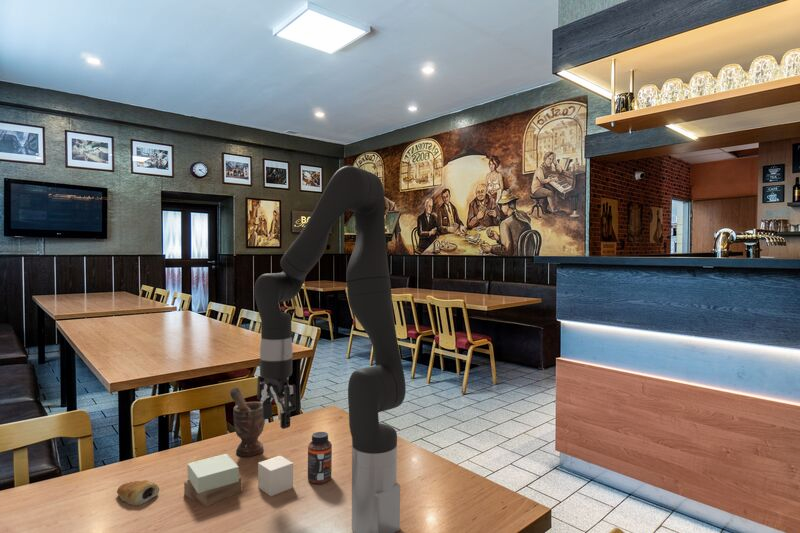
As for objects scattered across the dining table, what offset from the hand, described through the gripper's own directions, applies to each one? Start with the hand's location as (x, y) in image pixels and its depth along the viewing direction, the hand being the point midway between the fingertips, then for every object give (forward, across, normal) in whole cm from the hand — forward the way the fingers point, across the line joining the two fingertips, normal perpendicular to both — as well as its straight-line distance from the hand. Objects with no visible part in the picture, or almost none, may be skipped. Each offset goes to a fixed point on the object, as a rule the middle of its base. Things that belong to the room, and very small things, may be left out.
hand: (275, 422), depth 113 cm
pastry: (+16, +18, +26) cm, 35 cm away
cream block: (+16, 0, 0) cm, 16 cm away
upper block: (+13, +8, +12) cm, 19 cm away
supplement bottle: (+16, -4, -10) cm, 19 cm away
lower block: (+16, +8, +12) cm, 22 cm away
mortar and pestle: (+16, +22, -4) cm, 27 cm away
